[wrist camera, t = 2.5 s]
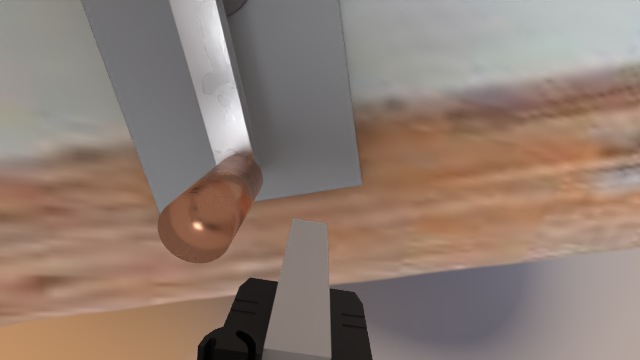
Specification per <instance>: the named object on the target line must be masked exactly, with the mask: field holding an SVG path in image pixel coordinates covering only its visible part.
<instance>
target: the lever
mask: <svg viewBox="0 0 640 360" xmlns="http://www.w3.org/2000/svg"><path fill="white" fill-rule="evenodd" d="M169 1H170V5H171V8H172V12H173V15H174V19H175V22H176V26H177V29H178V33H179V36H180V40H181V43H182V47H183V50H184V54H185V57H186V61H187V64H188V68H189V71H190V75H191V78H192V82H193V85H194V89H195V92H196V96H197V99H198V103H199V106H200V110H201V113H202V117H203V120H204V124H205V127H206V131H207V134H208V138H209V141H210V145H211V148H212V152H213V155H214V159H215V162H216V166H215V167H214V168H213V169H211V170H210V171H209V172H208V173H207V174H205V175H204V176H203V177H202V178H200V179H199V180H198V181H197V182H196V183H194V184H193V185H192V186H191V187H189V188H188V189H187V190H186V191H184V192H183V193H182V194H181V195H180V196H178V197H177V198H176V199H175V200H173V201H172V202H171V203H170V204H168V205H167V206H166V207H165V208H164V209H163V211H162V212H161V214H160V217H159V220H158V232H159V236H160V238H161V241H162V242H163V244H164V245H165V247H166V248H167V249H168V250H169V251H170V252H171V253H172V254H174V255H175V256H177V257H178V258H180V259H182V260H185V261H188V262H193V263H206V262H211V261H213V260H216V259H218V258H219V257H221V256H222V255H223V254H224V253H225V252H226V250H227V249H228V247H229V245H230V243H231V242H232V240H233V238H234V236H235V234H236V233H237V231H238V229H239V227H240V226H241V224H242V222H243V220H244V218H245V217H246V215H247V213H248V211H249V209H250V208H251V206H252V204H253V202H254V200H255V199H256V197H257V195H258V193H259V191H260V190H261V188H262V184H263V175H262V172H261V170H262V165H261V161H260V157H259V152H258V148H257V144H256V140H255V135H254V131H253V127H252V123H251V119H250V114H249V110H248V106H247V102H246V97H245V93H244V89H243V85H242V81H241V76H240V72H239V68H238V64H237V59H236V55H235V51H234V47H233V43H232V38H231V34H230V30H229V26H228V21H227V17H226V13H225V9H224V5H223V0H169Z"/></svg>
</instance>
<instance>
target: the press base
mask: <svg viewBox="0 0 640 360" xmlns="http://www.w3.org/2000/svg"><path fill="white" fill-rule="evenodd" d="M81 1H82V4H83V7H84V10H85V12H86V15H87V18H88V20H89V23H90V26H91V29H92V31H93V34H94V37H95V39H96V42H97V45H98V48H99V50H100V53H101V56H102V58H103V61H104V64H105V67H106V69H107V72H108V75H109V77H110V80H111V83H112V86H113V88H114V91H115V94H116V96H117V99H118V102H119V105H120V107H121V110H122V113H123V115H124V118H125V121H126V124H127V126H128V129H129V132H130V134H131V137H132V140H133V143H134V145H135V148H136V151H137V153H138V156H139V159H140V162H141V164H142V167H143V170H144V172H145V175H146V178H147V181H148V183H149V186H150V189H151V191H152V194H153V197H154V200H155V202H156V205H157V208H158V210H159V213H160V214H161V212H162V211H163V209H164V208H165V207H166V206H167V205H168V204H170V203H171V202H172V201H173V200H175V199H176V198H177V197H178V196H180V195H181V194H182V193H183V192H184V191H186V190H187V189H188V188H189V187H191V186H192V185H193V184H194V183H196V182H197V181H198V180H199V179H200V178H202V177H203V176H204V175H205V174H207V173H208V172H209V171H210V170H211V169H213V168H214V167H215V166H216V162H215V159H214V155H213V152H212V148H211V145H210V141H209V138H208V134H207V131H206V127H205V124H204V120H203V117H202V113H201V110H200V106H199V103H198V99H197V96H196V92H195V89H194V85H193V82H192V78H191V75H190V71H189V68H188V64H187V61H186V57H185V54H184V50H183V47H182V43H181V40H180V36H179V33H178V29H177V26H176V22H175V19H174V15H173V12H172V8H171V5H170V1H169V0H81ZM223 5H224V9H225V13H226V17H227V21H228V26H229V30H230V34H231V38H232V43H233V47H234V51H235V55H236V59H237V64H238V68H239V72H240V76H241V81H242V85H243V89H244V93H245V97H246V102H247V106H248V110H249V114H250V119H251V123H252V127H253V131H254V135H255V140H256V144H257V148H258V152H259V157H260V161H261V165H262V170H261V172H262V175H263V184H262V188H261V190H260V191H259V193H258V195H257V197H256V199H255V200H254V202H255V201H262V200H268V199H275V198H281V197H288V196H294V195H301V194H308V193H314V192H321V191H327V190H334V189H340V188H347V187H353V186H360V185H362V180H361V172H360V164H359V156H358V149H357V141H356V133H355V125H354V117H353V110H352V102H351V94H350V86H349V79H348V71H347V63H346V55H345V48H344V40H343V32H342V24H341V16H340V9H339V1H338V0H223Z"/></svg>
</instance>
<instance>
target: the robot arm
mask: <svg viewBox="0 0 640 360" xmlns="http://www.w3.org/2000/svg"><path fill="white" fill-rule="evenodd" d="M197 360H372V354H371V349H370V343H369V337H368V332H367V326H366V321H365V315H364V309H363V304H362V302H361V301H360V299H359V298H358V296H357V295H356V294H355V292H350V291H343V290H337V289H330V288H329V256H328V224H327V223H321V222H314V221H308V220H302V219H295V218H293V220H292V224H291V229H290V233H289V238H288V242H287V246H286V251H285V255H284V260H283V264H282V269H281V273H280V277H279V282H276V281H269V280H262V279H256V278H249V279H248V280H247V281H246V282H245V283H243V284H242V285H241V286H240V287H239V290H238V292H237V295H236V297H235V300H234V302H233V304H232V307H231V310H230V312H229V314H228V317H227V319H226V321H225V324H224V326H223V327H221V328H218V329H215V330H213V331H212V332H210V333H209V334H208V335H206V336H205V337H204V338H203V340H202V341H201V343H200V344H199V345H198V356H197Z"/></svg>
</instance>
